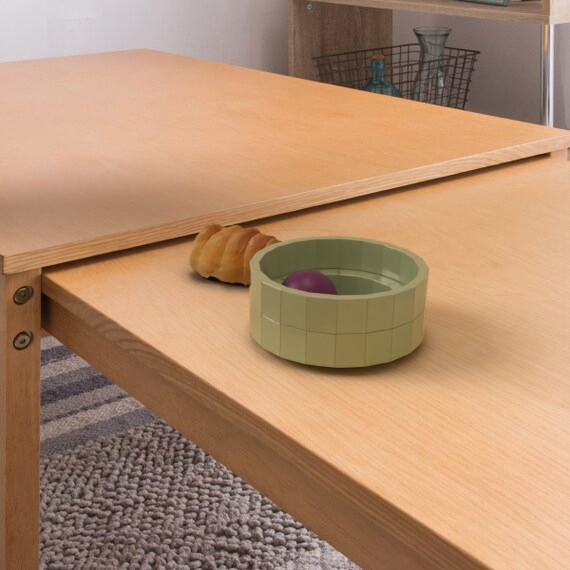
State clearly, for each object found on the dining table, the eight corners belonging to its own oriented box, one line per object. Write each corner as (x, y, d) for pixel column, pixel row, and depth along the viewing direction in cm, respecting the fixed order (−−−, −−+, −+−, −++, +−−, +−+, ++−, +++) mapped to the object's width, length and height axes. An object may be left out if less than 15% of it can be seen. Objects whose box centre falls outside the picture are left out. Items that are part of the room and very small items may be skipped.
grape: (319, 352, 65) (266, 323, 64) (311, 326, 69) (262, 297, 68) (355, 303, 64) (302, 272, 62) (345, 279, 68) (295, 249, 66)
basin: (255, 378, 61) (255, 301, 58) (245, 304, 72) (245, 237, 70) (441, 373, 62) (448, 296, 60) (402, 300, 73) (407, 234, 71)
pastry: (316, 268, 79) (317, 226, 78) (286, 297, 73) (287, 252, 72) (217, 253, 82) (216, 212, 81) (181, 279, 77) (179, 236, 75)
